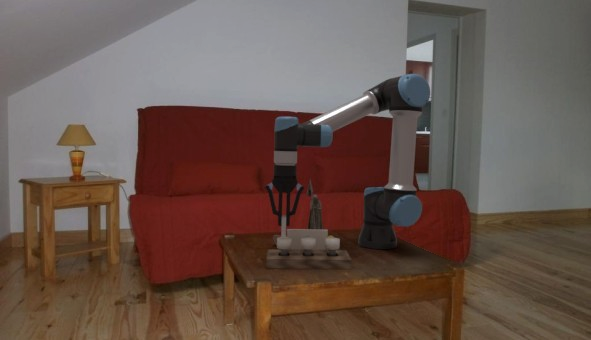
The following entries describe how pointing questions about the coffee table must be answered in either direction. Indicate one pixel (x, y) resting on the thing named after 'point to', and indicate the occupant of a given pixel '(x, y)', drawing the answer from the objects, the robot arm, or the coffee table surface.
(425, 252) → the coffee table surface
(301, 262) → the board
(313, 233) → the card
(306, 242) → the button
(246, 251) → the coffee table surface
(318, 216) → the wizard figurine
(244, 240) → the coffee table surface
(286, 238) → the button
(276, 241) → the stone
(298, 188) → the robot arm
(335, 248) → the button
